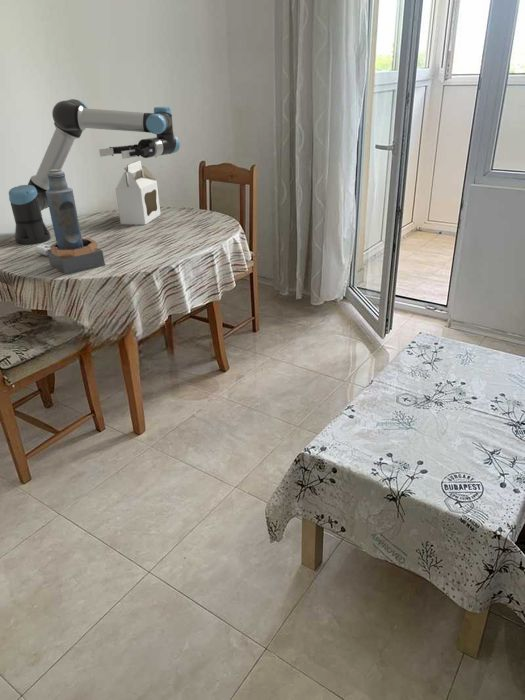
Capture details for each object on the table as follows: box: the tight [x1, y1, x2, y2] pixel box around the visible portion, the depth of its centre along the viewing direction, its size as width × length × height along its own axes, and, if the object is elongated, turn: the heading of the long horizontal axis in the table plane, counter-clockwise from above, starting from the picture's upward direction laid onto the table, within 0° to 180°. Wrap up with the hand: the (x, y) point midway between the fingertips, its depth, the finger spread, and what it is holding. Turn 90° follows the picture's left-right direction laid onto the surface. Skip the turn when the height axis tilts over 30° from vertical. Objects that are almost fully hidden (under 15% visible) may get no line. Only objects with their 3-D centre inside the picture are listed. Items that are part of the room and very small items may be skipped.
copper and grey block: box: [46, 237, 106, 276], centre depth 206 cm, size 16×16×8 cm
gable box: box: [115, 159, 161, 226], centre depth 266 cm, size 22×13×28 cm, turn 169°
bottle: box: [46, 169, 83, 249], centre depth 199 cm, size 10×10×30 cm
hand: (111, 154), depth 213 cm, fingers open, 13 cm apart
